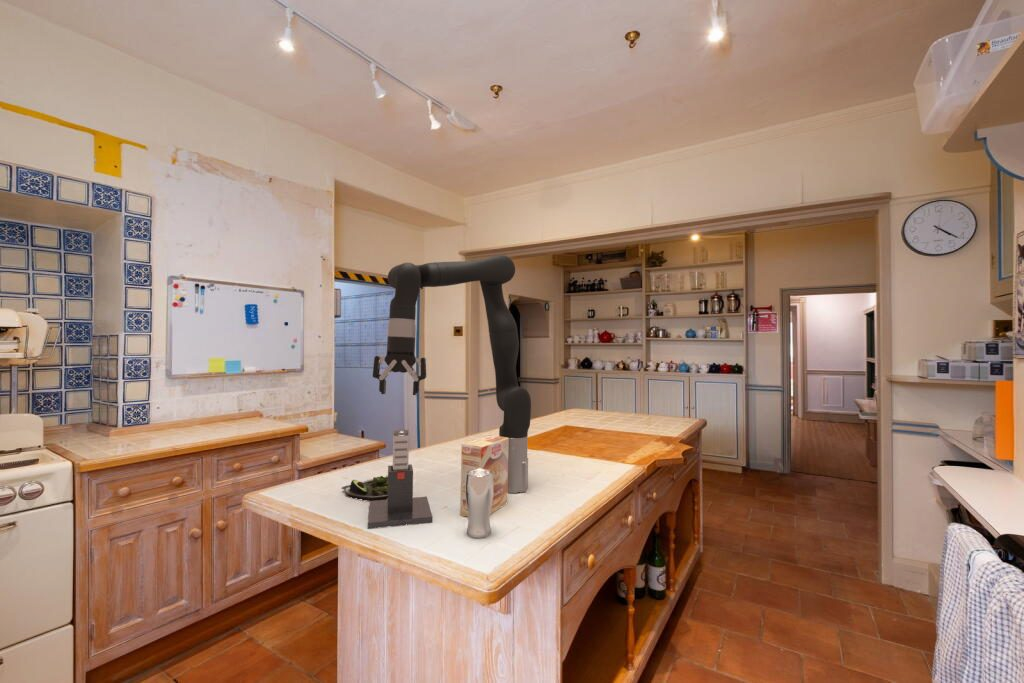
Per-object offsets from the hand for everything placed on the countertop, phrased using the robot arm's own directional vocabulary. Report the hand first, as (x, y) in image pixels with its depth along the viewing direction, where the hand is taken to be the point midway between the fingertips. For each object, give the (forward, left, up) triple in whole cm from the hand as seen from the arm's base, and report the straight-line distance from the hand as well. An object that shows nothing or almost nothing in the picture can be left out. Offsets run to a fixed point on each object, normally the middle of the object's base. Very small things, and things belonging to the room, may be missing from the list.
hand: (398, 394), depth 123 cm
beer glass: (-25, +9, -33) cm, 42 cm away
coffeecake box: (-23, -7, -33) cm, 41 cm away
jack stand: (-1, +1, -32) cm, 32 cm away
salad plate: (+14, -15, -33) cm, 39 cm away
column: (-1, +1, -31) cm, 31 cm away
